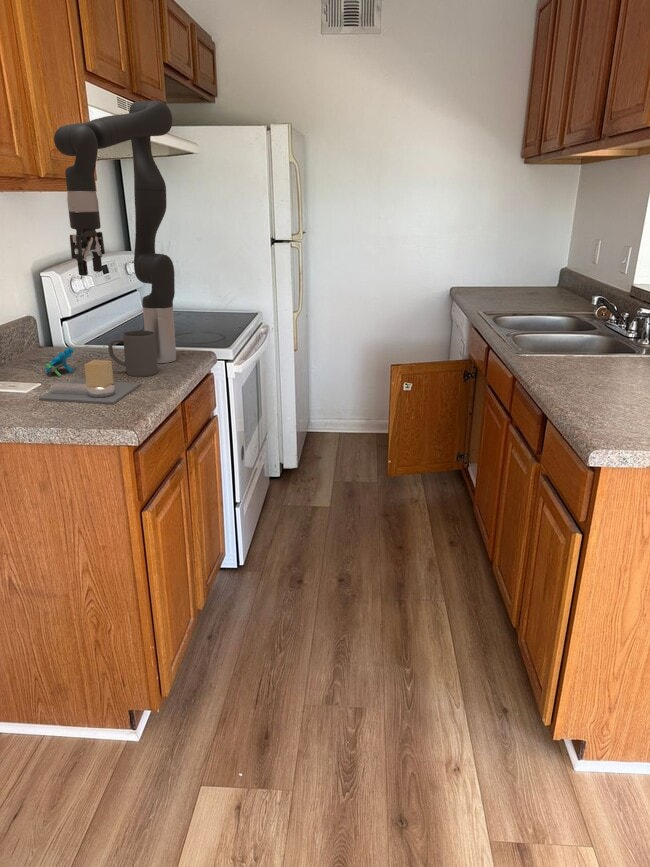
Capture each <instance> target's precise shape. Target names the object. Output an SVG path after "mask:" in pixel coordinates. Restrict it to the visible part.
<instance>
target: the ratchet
mask: <svg viewBox="0 0 650 867" xmlns="http://www.w3.org/2000/svg"><path fill="white" fill-rule="evenodd" d="M49 388H50V392H51V394H68V395H86V396H88V397H91V398H106V397H110V396H113V395H115V385H114V383H113V384H111V385H109V386H108V387H106V388H94V387H87V384H75V383H68V382H55V383H54V384H51V385H50V386H49Z"/></svg>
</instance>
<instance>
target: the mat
mask: <svg viewBox="0 0 650 867" xmlns="http://www.w3.org/2000/svg"><path fill="white" fill-rule="evenodd" d="M67 383H75V384H86V379H72V380H70V381H68V382H67ZM114 385H115V395H113V396H110V397H106V398H91V397H88V396H86V395H68V394H51V391H48V393H46V394H43V395H42V396H40V397H39V398H38V401H46V402H47V401H48V402H49V401H50V402H65V403H66V402H67V403H81V404H82V403H83V404H85V403H86V404H99V405H115V404H116V403H117V402H119V401H121V400H122V399H124V398H125V397H127V396H128V395H129V394H131V393H132V392H134V391H135V390H136V389H138V388H139V387H141V386H142V382H124V381H114Z"/></svg>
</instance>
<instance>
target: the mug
mask: <svg viewBox="0 0 650 867" xmlns="http://www.w3.org/2000/svg"><path fill="white" fill-rule="evenodd" d="M122 337H123V338H115V339H114V338H113V339H112V340H109V342H108V353H109V356H110V358H111V359H112V360H113V361H114V362H115V363H117V364H119V365H121V366H124V367H125V369H126V374H127V375H128V376H130V377H135V378H136V377H137V378H143V377H150V376H154V375H156V374H158V372H159V371H158V370H159V368H158V367H159V366H158V363H157V350H156V339H155V333H154V332H152V331H145V330H144V329H143V330H142V329H141V330H132V331H131V330H130V331H126V332H123V336H122ZM116 343H123V350H124V361H122V360H120V359H119V358H118V357H117V355H115V354H114V350H113V349H114V348H113V345H114V344H116Z"/></svg>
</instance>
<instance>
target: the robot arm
mask: <svg viewBox="0 0 650 867" xmlns="http://www.w3.org/2000/svg"><path fill="white" fill-rule="evenodd" d="M172 114H173V113H172V111H171V109H170V108H169V106H168V105H167V104H166V103H165V102H163V101H161V100H155V99H154V100H138V101H137V100H136V101H134V102H132V103H131V105H130V107H129V111H128V113H121V114H113V115H107V116H101V117H98V118H95V119H92V120H89V121H85V122H79V123H78V122H77V123H71V124H65V125H62V126H59V128H57V130H55V133H54V136H53V143H54V146H55V147H56V149H57V150H58V152H60V153H61V154H63V155H65V156H67V157H75V159H74V164H73V165H70V166H68V167H67V168H66V169H65V173H64V174H65V183H66V184H65V185H66V190H67V191H66V193H67V195H66V196H67V197H66V198H67V209H68V210H67V211H68V216H69V217H68V219H69V227H70V229H73V230H75V232H76V233H75V234H69V244H70V253H71V254H70V255H71V259H73V260H75V261H76V262H77V269H78V275H79V276H88V275H89V272H88V270H89V269H88V263H87V257H88V254H91V257H92V258H91V260H92V268H93V272H96V273H100V272H103V265H102V258H103V255H105V254H106V252H105V244H104V235H103V232H102V231H97V230H99V229H101V217H100V207H99V199H98V197H97V196H98V195H97V190H96V180H95V173H96V166H97V159H98V152H99V151H98V150H100V149H101V150H103V149H106V148H110V147H112V146H115V145H118V144H121V143H124V142H127V141H130V142H131V150H132V162H133V179H134V180H133V185H134V187H133V191H134V192H133V193H134V197H133V198H134V209H135V210H134V211H135V214H134V215H135V217H134V218H135V224H134V225H135V239H134V254H133V255H134V257H133V270H134V274H135V277H136V278H137V280H138V281H139V282H141V283H143V284H149V285H151V292H150V293H149V294H147V295H145V296H143V297H142V301H141V302H142V304H141V305H142V316H143V325H144V326H143V328H144V329H143V330H144V331H152V332H154V333H155V339H156V350H157V364H166V363H167V364H168V363H171V362H172V363H173V362H175V361H176V360H177V348H176V336H175V335H176V333H175V332H176V331H175V319H174V318H175V316H174V303H173V302H174V300H175V295H176V294H175V288H176V287H175V281H176V280H175V266H174V262H173V261H172V259H171V257H170V256H168V254H165V253H156V238H157V233H158V230H159V228H160V225H161V224H162V221H163V219H164V217H165V215H166V212H167V186H166V182H165V179H164V177H163V175H162V173H161V171H160V169H159V168H158V165H157V164H156V162H155V159H154V157H153V152H152V145H151V140H152V139H151V137H161V136H165V135H166V134H169V132H170V131H171V129H172V126H173V115H172Z"/></svg>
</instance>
